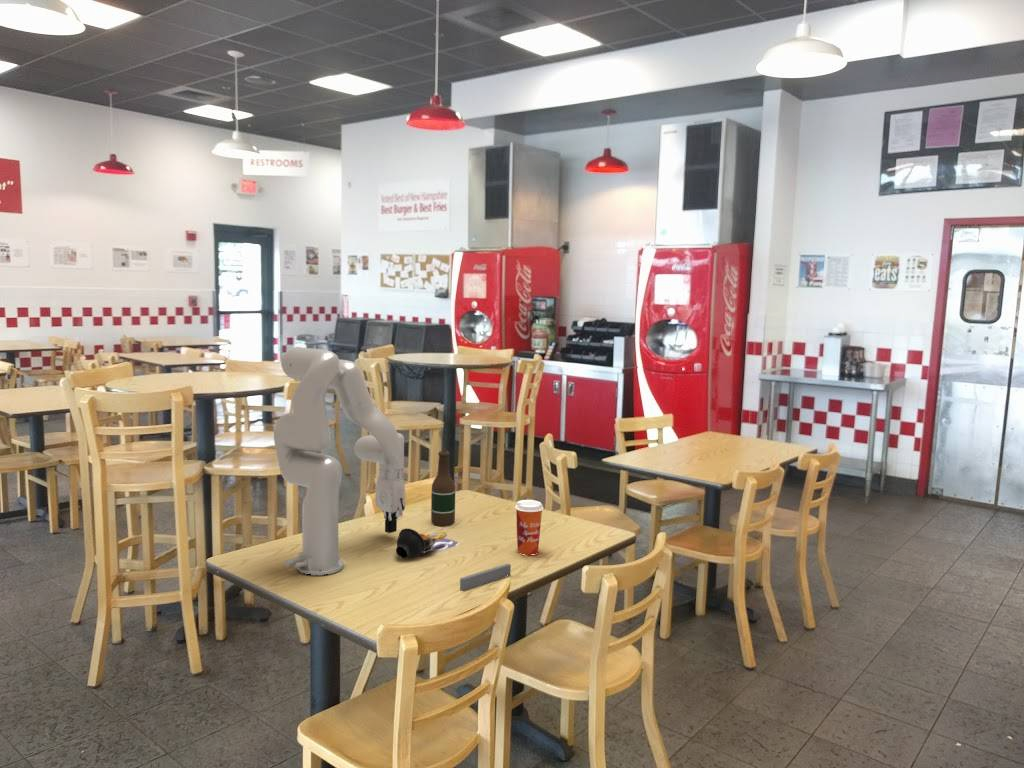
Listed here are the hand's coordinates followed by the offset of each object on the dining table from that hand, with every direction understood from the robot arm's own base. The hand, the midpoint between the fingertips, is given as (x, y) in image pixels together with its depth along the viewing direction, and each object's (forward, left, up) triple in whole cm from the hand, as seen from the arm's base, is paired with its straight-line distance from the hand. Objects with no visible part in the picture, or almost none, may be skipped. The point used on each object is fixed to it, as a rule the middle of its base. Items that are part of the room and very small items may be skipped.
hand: (390, 531), depth 234 cm
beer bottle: (+22, +2, -2) cm, 22 cm away
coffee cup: (+25, -35, -2) cm, 43 cm away
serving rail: (0, -44, -2) cm, 45 cm away
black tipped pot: (0, -16, -2) cm, 16 cm away
